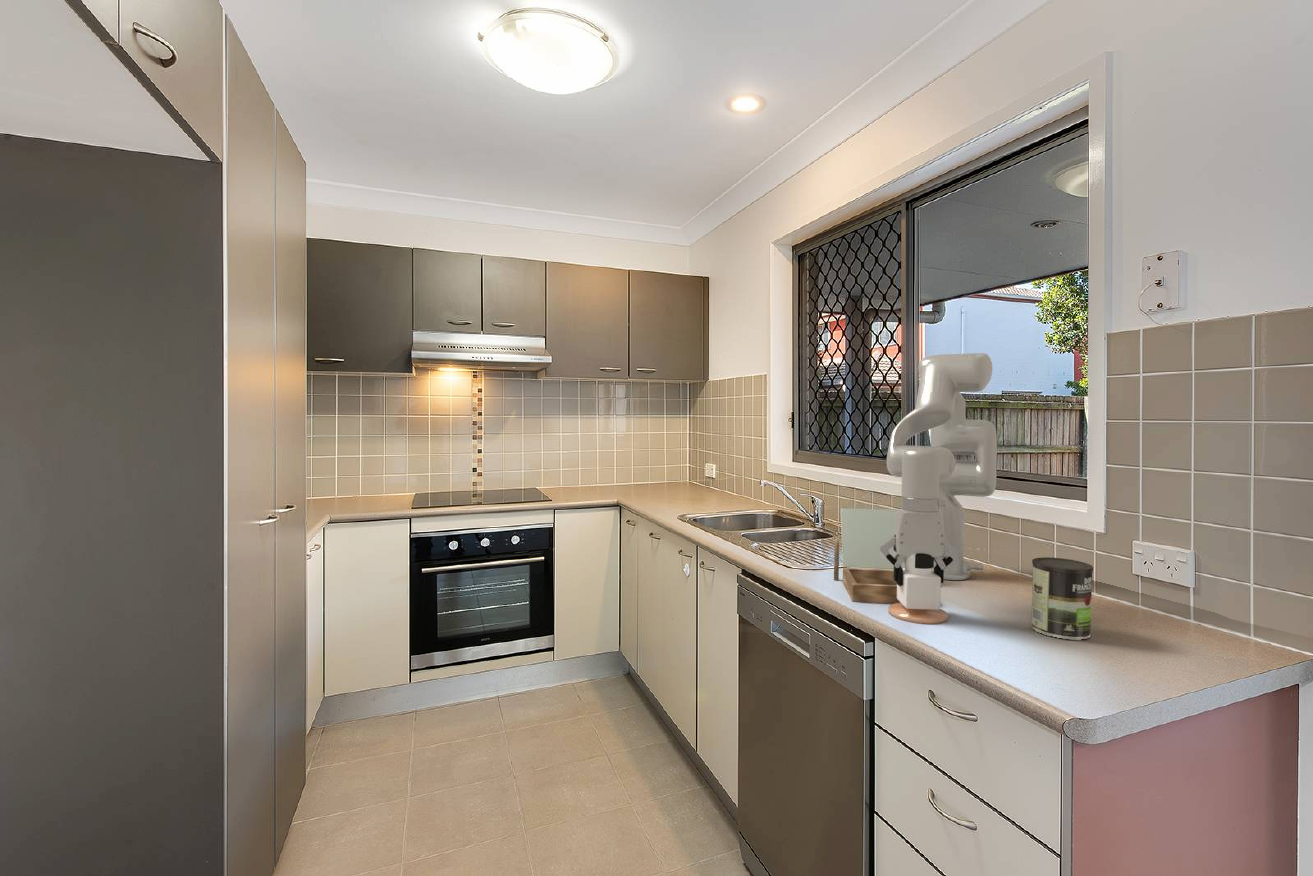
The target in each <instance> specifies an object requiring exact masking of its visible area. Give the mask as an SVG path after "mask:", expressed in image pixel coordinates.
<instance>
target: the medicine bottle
mask: <svg viewBox="0 0 1313 876" xmlns="http://www.w3.org/2000/svg"><path fill="white" fill-rule="evenodd" d="M902 569H903V585H902V586H898V584H897V599H898V600H899V601H900V602H901V603H902V604H903V605H904V607H905V608H906V609H928V610H939V609H941V591H942V590H941V589H942V583H941V578H940V577H939V576H938V575H936V574H935V573H934V572H932V571H933V570H934V558H933V557H932V556H931V555H929V554H924V553H918V554H912V555H911V556H910V557H906V558H905V560H904V568H902Z"/></svg>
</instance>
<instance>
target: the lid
mask: <svg viewBox="0 0 1313 876" xmlns="http://www.w3.org/2000/svg"><path fill="white" fill-rule="evenodd" d="M897 510H898V509H887V508H886V509H882V508H881V509H877V508H846V507H845V508H844V507H841V508H840V509H839V512H840V513H839V515H840V522H841V523H840V529H841V530H840V531H841V533H840V534H841V554H842V556H841V558H842V559H841V560H842V563H841V564H842V568H856V569H881V570H894V565H893V564H892V563H891V562H890V561H889V560H888V559H887V558H886V557H885V556H884V554H883V553H882V552H881V550H880V547H881V546H882V545H883V544H885V543H886V542H888V541H889V540H891V539H892V538H893V533H894V524H895V518H896V513H897ZM889 553H890V554H891V555H892V556H893V557H895V556H896V554H897V552H895V551H894V550H893V547H892V548H890V549H889ZM901 568H904V561H903V563H902V564H901Z"/></svg>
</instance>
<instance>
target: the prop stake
mask: <svg viewBox="0 0 1313 876" xmlns="http://www.w3.org/2000/svg"><path fill="white" fill-rule="evenodd" d="M833 544H834V548H833V555H834V556H833V580H834V581H837V582H838V581H840V580H839V579H840V578H839V575H840V573H839V571H840V569H839V568H840V567H839V566H840V538H838V537H837V538H836V537H835V538H834V543H833Z"/></svg>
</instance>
